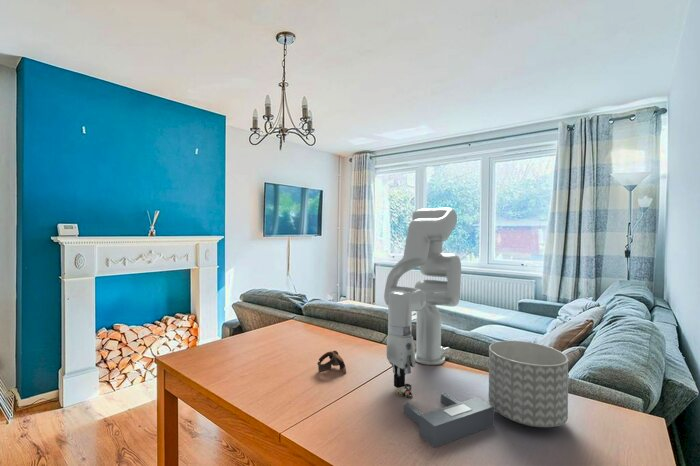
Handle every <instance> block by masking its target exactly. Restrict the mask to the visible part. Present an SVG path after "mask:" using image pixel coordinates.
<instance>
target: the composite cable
mask: <svg viewBox="0 0 700 466" xmlns="http://www.w3.org/2000/svg"><path fill="white" fill-rule="evenodd" d="M412 386H413V385H412V384H410V383H405V386H404V388H398V389H397V390H396V392H395V394H398V395H400V394H401V395H400V397H401V399H402V398H404V397H406V399H407V400H408V399H409V400H410V399H412V398H413V397H414V396H413V393H412V391H411V389H412Z"/></svg>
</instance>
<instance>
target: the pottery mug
mask: <svg viewBox="0 0 700 466" xmlns="http://www.w3.org/2000/svg"><path fill="white" fill-rule="evenodd" d="M327 358H328V359H329V361H327V362H325V363H322V362H323V361H325V359H327ZM317 366H318V369H317V371H318V372H319V373H323V372H326V371H329V372H331V371H332V366H334V367H336V366H339V369H340V370H342V371H343V375H346V374H347V369H346V364H345V362H344V359H343V358H342V356H340V355H339V352H338V351H337V350H333V351H332V350H330V351H327V352H325V353H324V354H322V355H321V356H320V357H319V358H318V361H317Z"/></svg>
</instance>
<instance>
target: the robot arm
mask: <svg viewBox="0 0 700 466" xmlns="http://www.w3.org/2000/svg"><path fill="white" fill-rule="evenodd" d="M411 216H412V218H411V219H412V221H410V222H409V224H408V228H407V234H406V240H405V245H404V251H403V255H402V258H401V259H399V261H398V262H397V263H396V264H395V265H394V266H393V267H392V269H391V270H390V271H389V272H388V275H387V278H386V282H385V286H384V287H385V288H384V294H383V297H384V298H383V299H384V303H385V304H386V306H388V309H387V310H388V312H387V313H388V315H387V317H388V318H387V319H388V320H387V321H388V322H387V323H388V324H387V338H386V359H387V361H388V363H389V364H390V365H391V366H392V373H393V386H394V387H395V388H396V389H402V388H403V387H404V388H405V384H406V375H409V374H412V369H411V368H415V366H416V362H417V363H419V364H422V365H427V366H437V365H441V364H444V363H445V362H446V356H444V354H446V353H450V351H451V349H450V347H449V346H446V347H443V346H442V315H441V312H440V310H439V308H438V307H437V306H443V307H456V306H458V304H459V303H460V299H461V286H462V285H461V284H462V283H461V281H462V262H461V259H460V257H459V255H457V254H455V253H449V252H448V253H447V252H443V242H445V241H447V240H448V239H449V237H450V236H451V235H452V233H453V231H454V229H455V228H456V226H457V222H458V215H457V212H456V210H455V209H454V208H451V207H436V208H435V207H433V208H432V207H430V208H420V209H416V210H415V211H413V212H412V215H411ZM417 268H419V271H420V273H421V274H422V275H423V276H426V277H433V278H435V277H437V278H446V280H436V279H435V280H434V279H421V280H417V282H416V283H415V285H414V287H408V286H407V287H406V286H398V282H399V280H400V278H401V277H403V275H405V274H406V273H407V272H409V271H411V270H413V269H417ZM413 312H416V334H415V335H416V336H415V337H416V344H415V343H414V337H413V334H412V326H413V325H412V323H413V322H412V321H413V320H412V318H413V317H412V316H413V315H412V314H413ZM415 345H416V350H415ZM415 351H416V352H415Z"/></svg>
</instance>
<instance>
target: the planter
mask: <svg viewBox="0 0 700 466" xmlns="http://www.w3.org/2000/svg"><path fill="white" fill-rule="evenodd" d="M488 404H490V405H492V406H494V412H496V413H498V414H500V415H501V416H502V417H504V418H506V419H509V420H510V421H513V422H515V423H517V424H520V425H523V426H525V427H526V426H527V427H532V428H555V427H560V426H562V425H564V424H566V423H567V421H568V419H569V357H568V356H567V355H566V354H565V353H563V352H562V351H560V350H558V349H556V348H553V347H550V346H548V345H544V344H540V343H534V342H529V341H522V340H498V341H495V342H493V343H491V344H489V346H488Z"/></svg>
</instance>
